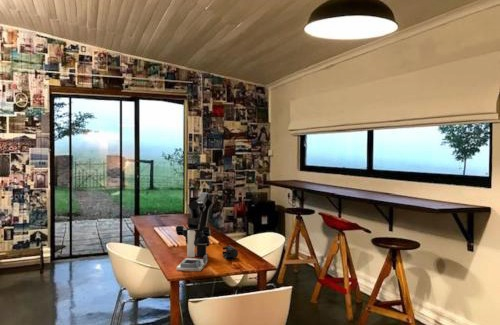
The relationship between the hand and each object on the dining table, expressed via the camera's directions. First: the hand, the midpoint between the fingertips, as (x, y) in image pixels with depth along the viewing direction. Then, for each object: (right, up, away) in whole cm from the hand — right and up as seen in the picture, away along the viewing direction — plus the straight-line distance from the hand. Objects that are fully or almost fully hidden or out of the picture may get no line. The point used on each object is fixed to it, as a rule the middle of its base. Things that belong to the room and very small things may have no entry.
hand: (190, 244), depth 220 cm
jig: (0, -13, +7) cm, 15 cm away
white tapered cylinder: (0, -7, +2) cm, 7 cm away
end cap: (+20, -13, +25) cm, 35 cm away
